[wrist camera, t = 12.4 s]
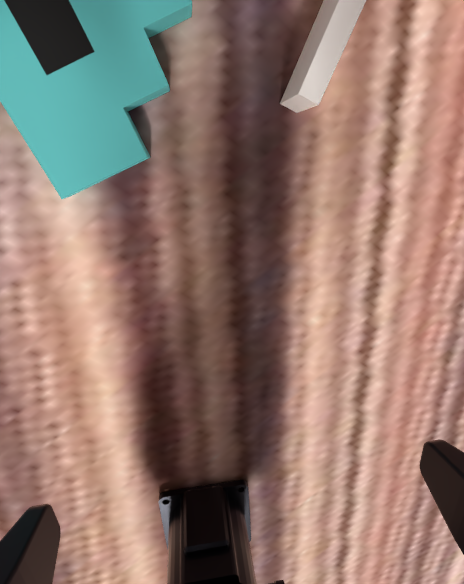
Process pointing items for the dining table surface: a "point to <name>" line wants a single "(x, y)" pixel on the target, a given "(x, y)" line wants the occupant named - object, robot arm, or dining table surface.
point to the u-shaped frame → (321, 53)
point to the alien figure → (82, 81)
